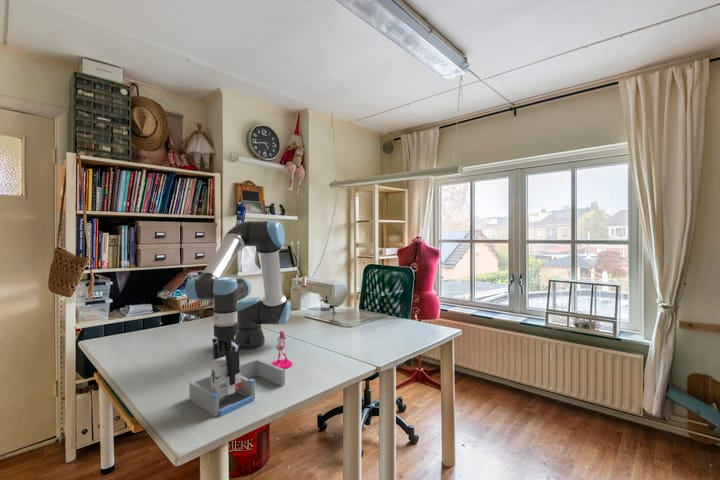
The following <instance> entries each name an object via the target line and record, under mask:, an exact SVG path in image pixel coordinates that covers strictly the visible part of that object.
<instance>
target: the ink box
mask: <svg viewBox="0 0 720 480" xmlns="http://www.w3.org/2000/svg"><path fill="white" fill-rule="evenodd" d="M240 365H241V355H239V367H240V373H239V374H236V375H235V392H236V391H238V390H240V389H241V366H240ZM210 375H211V392H212V393H217V394H219V395H220V397H219V399H221V398H222V397H225V396H228V395H227V382H226V375H228V371H227V364H226V357H225V356H224V357H221V358H217V359H214V360H213V359H211V360H210Z"/></svg>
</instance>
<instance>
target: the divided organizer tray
mask: <svg viewBox="0 0 720 480" xmlns="http://www.w3.org/2000/svg"><path fill="white" fill-rule="evenodd" d="M240 366H241V389H240V390H238V391H235V393H238V394H240V395H242V396H243V397H245V398H244V399H242V400H241V399H240V400H239V401H237V402H235V403H232V404H230V405H227V406H225V407H223V408H221V409H220V398H221V397H220V395H219V394H217V393H212V392H211V374H210V375H207V376H203V377H200V378H198V379H195V380H192V381H189V386H188V387H189V388H188V390H189V401H191V402H193V403H195V404H196V405H197V406H199V407H200V408H201V409H202V410H205V411H207V413H209V414H210V415H212V416H213V417H218V416H219V417H223V416H224V415H226V414H229V413H231V412H233V411H236V410H238V409H240V408H242V407H245V406H247V405H249V404H251V403H252V402H254V400H256V379H253V378H252V377H255V376H259V377H260V378H263V379H265V380H267V381H270V382H272V383H274V384H276V385H278V386H281V387H285V385H286V379H285V378H286V376H285V375H286V369H282V368H280V367H277V366H275V365H272V364H271V363H269V362H267V361H264V360H261V358H260V359H259V358H255V359H253V360H249V361H247V362H244V363H240ZM219 397H220V398H219Z"/></svg>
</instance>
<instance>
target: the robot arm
mask: <svg viewBox="0 0 720 480" xmlns="http://www.w3.org/2000/svg"><path fill="white" fill-rule="evenodd" d="M285 241H286V239H285V231H284V228H283V226H282V224H281V223H280V222H278V221H272V220H267V221H266V220H265V221H264V220H258V221H256V220H254V221H252V220H249V221H243V222H241V223H238V224H236V225H235V226H233V227H232V228H231V229H229V230H228V231H227V233H226V234H225V235H224V236H223V237H222V244H221V245H220V246H219V247H218V249H217V251H216V253H215V254H214V255H213V256H212V258H211V260H210V261H209V263H207V265H206V267H205V268H204V270H203V271H202V273H201V274H200V276H199V277H198V278H191V279H189V280H188V281H187V282H186V283H185V287H184V293H185V296H186V298H188V299H189V300H197V301H213V317H212V319H213V324H214V325H213V336H214V337H215V338H212V341H211V342H212V345H213V346H212V352H213V353H212V355H213V356H212V357H213V359H212V360H214V359H217V358H221V357H224V356H225V357H226V364H227V371H228V375H226V382H227V395H226V396H230V395H232V394H235V393H236V391H235V375H236V374H239V373H240V367H239V356H240V350H249V349H255V348H260V347H261V346H263V345H265V342H266V338H265V336H264V333H263V330H262V325H278V326H279V325H286V324H287V323H288V322H289V319H290V316H291V309H292V303H291V301H289V300H287V297H286V295H285V294H283V283H282V273H281V263H280V251H281V250H282V247H283V246H284V245H285ZM245 247H255V251H256V252H257V253H258V254H259V256H260V264H261V266H260V267H261V273H262V281H263V282H262V283H263V289H264V291H263V292H264V298H263V299H262V297H258V296H257V297H256V296H254V297H249V298H247V296H249V295H250V294H251V291H252V285H251V283H250V281H249V280H248V279H246V278H245V277H244V278H243V277H242V278H241V277H239V278H238V277H237V278H236V277H230V276H228V277H224V276H225V275H226V273H227V272H228V271H229V269H230V267H231V265H232V263H233V261H234V260H235V258H236V257H237V255H238V253H239V252H241V251H243V249H244V248H245ZM238 301H239V302H238Z"/></svg>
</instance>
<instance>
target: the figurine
mask: <svg viewBox="0 0 720 480" xmlns="http://www.w3.org/2000/svg"><path fill="white" fill-rule="evenodd" d="M278 334H279V336H278V337H277V339H276V341H277V344H276V347H275V348H276V350H278V351H277V352H278V358H277V360H274V361H272V362H271V363H270V364H272V365H275V366H277V367H280V368H282V369H285V370H287V369H289V368H291V367H292V366H293V365H294V364H293V362H292V361H291V360H289V359H288V357H287V356H286V353H285V352H284V349H288V347H287V346H286V340H287V337H286V335H285V331H284V330H280V331H279V332H278ZM281 355H283V356H284V359H281Z"/></svg>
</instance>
